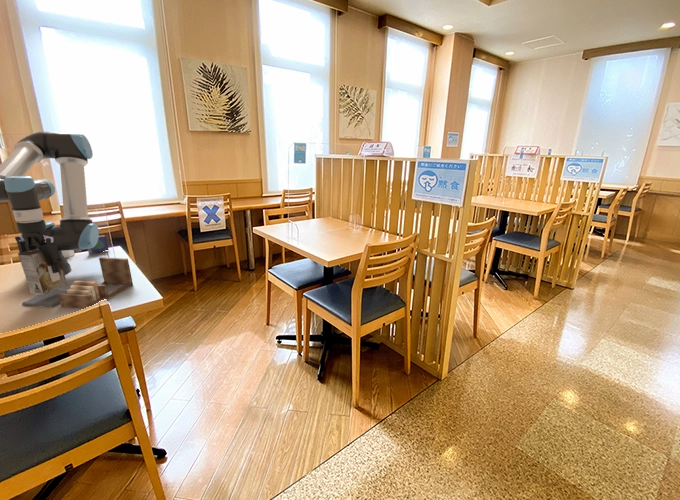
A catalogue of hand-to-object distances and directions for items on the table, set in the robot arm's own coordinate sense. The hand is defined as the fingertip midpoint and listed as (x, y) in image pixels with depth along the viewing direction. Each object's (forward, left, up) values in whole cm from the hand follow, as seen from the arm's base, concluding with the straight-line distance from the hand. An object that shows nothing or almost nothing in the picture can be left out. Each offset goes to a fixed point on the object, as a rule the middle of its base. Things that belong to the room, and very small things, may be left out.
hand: (47, 280), depth 123 cm
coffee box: (0, 0, -4) cm, 4 cm away
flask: (-27, +53, -8) cm, 60 cm away
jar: (-40, +45, -8) cm, 61 cm away
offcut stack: (+15, -1, -8) cm, 17 cm away
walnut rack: (+15, +6, -8) cm, 18 cm away
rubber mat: (0, 0, -8) cm, 8 cm away
